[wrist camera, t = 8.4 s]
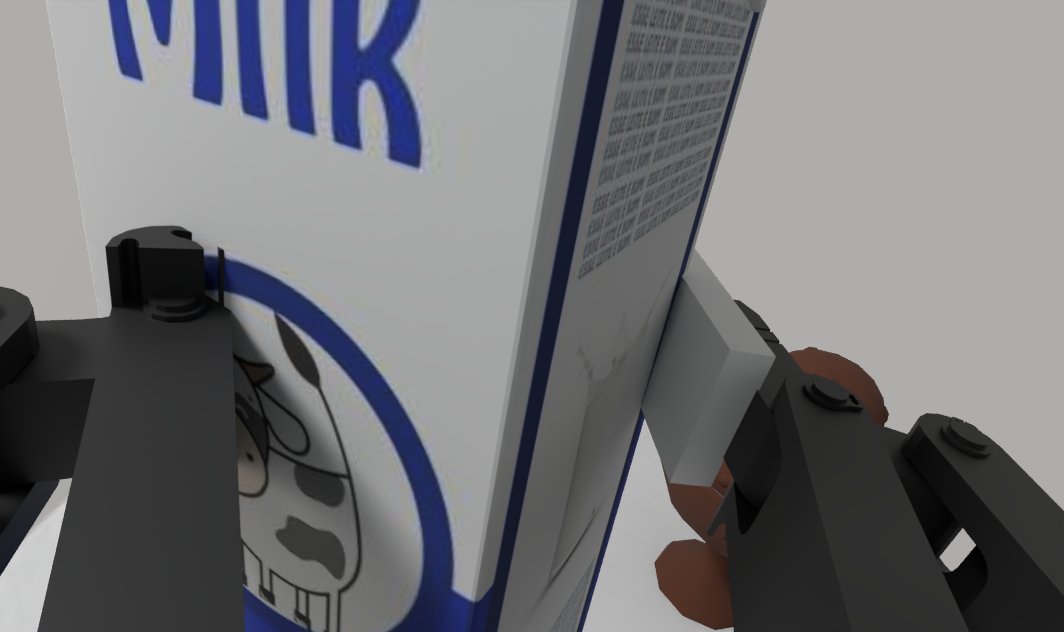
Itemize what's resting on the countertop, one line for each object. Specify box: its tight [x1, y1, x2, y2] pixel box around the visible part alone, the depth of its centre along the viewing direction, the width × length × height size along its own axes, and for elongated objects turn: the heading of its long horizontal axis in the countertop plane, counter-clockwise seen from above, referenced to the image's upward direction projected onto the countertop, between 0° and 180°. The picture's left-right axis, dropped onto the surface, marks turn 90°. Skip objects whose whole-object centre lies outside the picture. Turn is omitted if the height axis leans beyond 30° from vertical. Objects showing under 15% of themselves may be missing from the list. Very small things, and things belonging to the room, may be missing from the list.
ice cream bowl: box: [655, 347, 889, 630], centre depth 32 cm, size 11×11×15 cm
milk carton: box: [46, 0, 767, 632], centre depth 11 cm, size 7×7×20 cm
